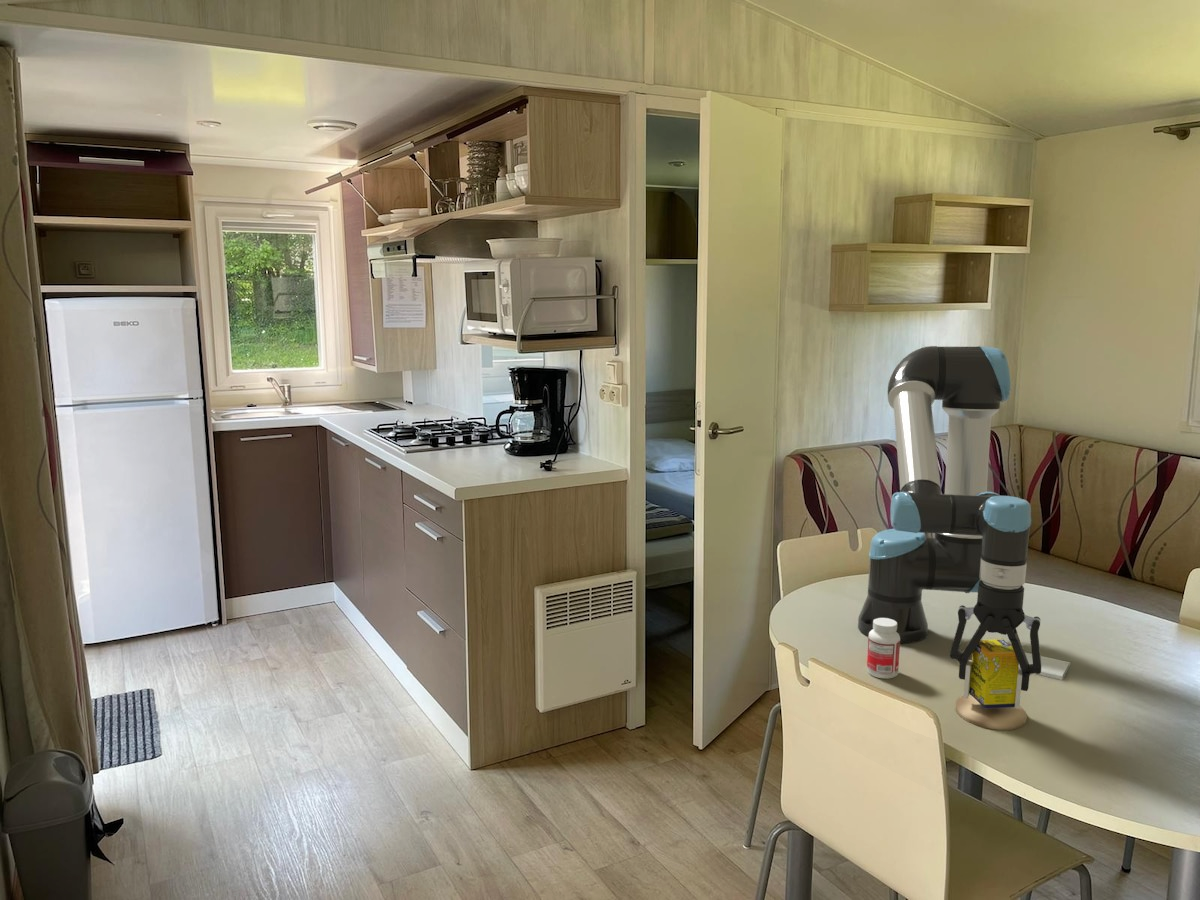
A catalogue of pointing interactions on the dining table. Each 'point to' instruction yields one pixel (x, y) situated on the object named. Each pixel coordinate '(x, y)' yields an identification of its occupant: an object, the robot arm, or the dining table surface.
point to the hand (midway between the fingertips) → (991, 700)
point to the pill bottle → (883, 649)
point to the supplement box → (994, 674)
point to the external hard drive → (1050, 667)
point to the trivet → (990, 715)
